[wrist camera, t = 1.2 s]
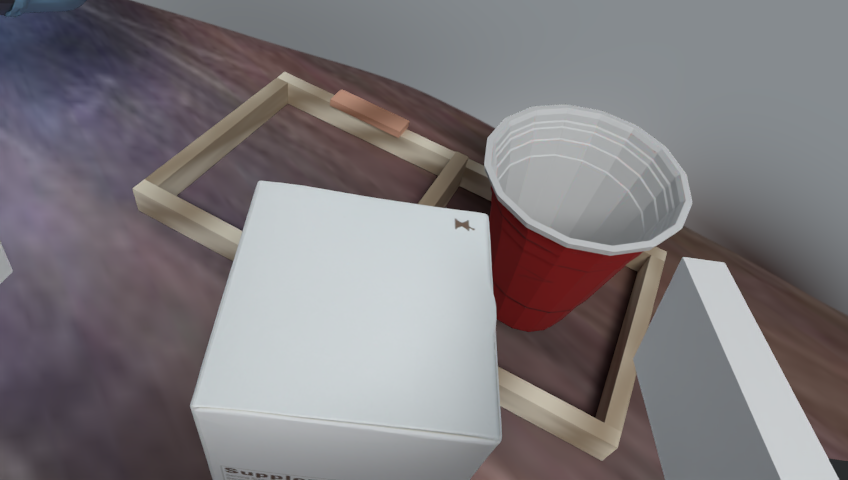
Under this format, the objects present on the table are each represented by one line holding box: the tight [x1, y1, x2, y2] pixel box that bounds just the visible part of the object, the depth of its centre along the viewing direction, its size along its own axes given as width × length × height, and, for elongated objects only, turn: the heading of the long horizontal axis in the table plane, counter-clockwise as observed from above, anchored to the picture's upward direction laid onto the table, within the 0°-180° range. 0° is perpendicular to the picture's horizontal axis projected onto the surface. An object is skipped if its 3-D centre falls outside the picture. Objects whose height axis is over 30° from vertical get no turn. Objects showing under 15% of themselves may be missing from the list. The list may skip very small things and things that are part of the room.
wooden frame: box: [133, 72, 667, 461], centre depth 39 cm, size 32×16×3 cm, turn 64°
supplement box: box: [190, 181, 502, 480], centre depth 24 cm, size 9×9×15 cm
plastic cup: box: [484, 104, 692, 332], centre depth 34 cm, size 11×11×12 cm
